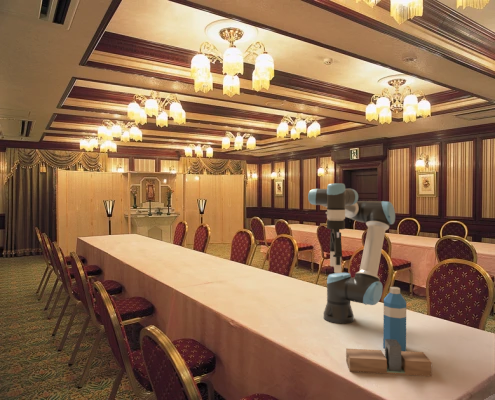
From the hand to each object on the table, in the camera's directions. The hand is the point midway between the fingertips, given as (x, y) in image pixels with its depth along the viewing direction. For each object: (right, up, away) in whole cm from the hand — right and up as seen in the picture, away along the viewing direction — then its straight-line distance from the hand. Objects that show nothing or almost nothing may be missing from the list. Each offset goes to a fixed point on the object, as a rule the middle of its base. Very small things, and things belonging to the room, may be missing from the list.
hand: (335, 269), depth 155 cm
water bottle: (+24, -32, -4) cm, 40 cm away
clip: (+16, -31, -22) cm, 42 cm away
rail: (+14, -32, -22) cm, 41 cm away
